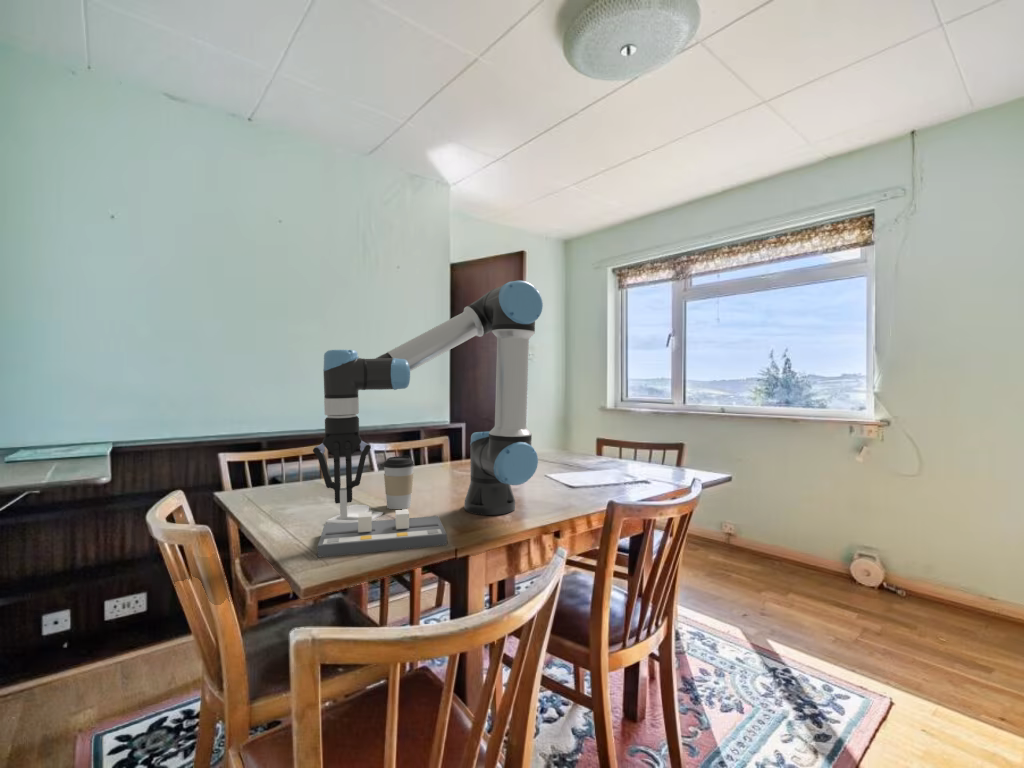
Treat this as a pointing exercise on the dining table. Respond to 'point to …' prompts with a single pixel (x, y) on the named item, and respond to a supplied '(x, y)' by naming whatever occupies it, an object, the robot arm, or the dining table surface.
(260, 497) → the dining table surface
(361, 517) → the slide switch
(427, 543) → the switch panel
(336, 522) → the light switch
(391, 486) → the coffee cup
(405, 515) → the slide switch
